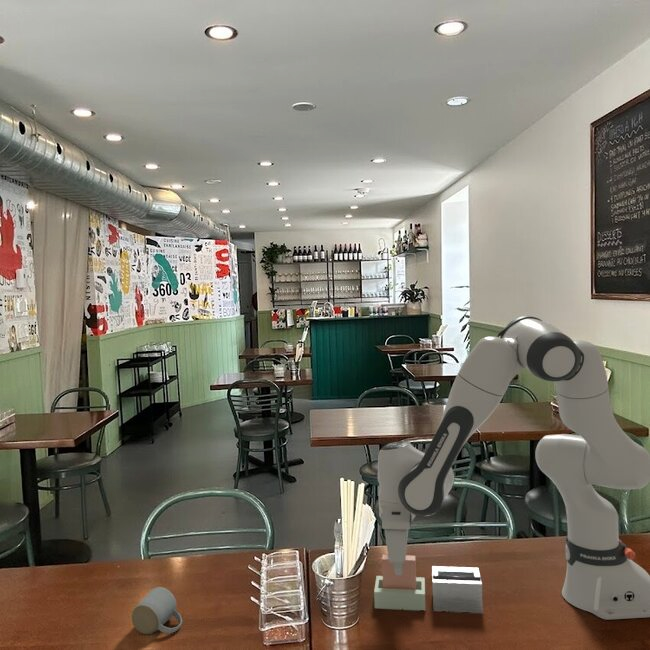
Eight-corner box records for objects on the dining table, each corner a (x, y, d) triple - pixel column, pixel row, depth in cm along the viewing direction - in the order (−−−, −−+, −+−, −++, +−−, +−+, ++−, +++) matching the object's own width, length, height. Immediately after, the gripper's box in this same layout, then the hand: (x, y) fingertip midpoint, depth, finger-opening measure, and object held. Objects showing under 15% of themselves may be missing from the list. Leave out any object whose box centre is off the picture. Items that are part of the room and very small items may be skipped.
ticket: (416, 595, 140) (415, 555, 140) (416, 600, 138) (415, 560, 137) (384, 594, 142) (382, 554, 141) (383, 599, 139) (381, 559, 139)
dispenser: (479, 595, 141) (478, 565, 140) (482, 613, 133) (481, 581, 132) (432, 593, 142) (431, 563, 142) (433, 611, 135) (432, 579, 134)
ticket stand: (425, 593, 143) (424, 577, 143) (425, 610, 135) (424, 594, 135) (377, 591, 145) (376, 575, 145) (374, 608, 137) (374, 592, 137)
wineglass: (343, 555, 165) (341, 515, 165) (359, 561, 162) (358, 519, 161) (331, 563, 161) (329, 521, 160) (347, 569, 157) (345, 526, 157)
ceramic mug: (129, 634, 130) (128, 602, 130) (150, 615, 138) (148, 584, 138) (170, 641, 127) (169, 608, 127) (189, 621, 135) (188, 589, 135)
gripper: (386, 493, 149) (388, 545, 150) (381, 525, 129) (383, 584, 130) (410, 494, 148) (412, 546, 149) (409, 525, 128) (411, 585, 129)
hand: (399, 564), depth 139 cm, fingers open, 8 cm apart
